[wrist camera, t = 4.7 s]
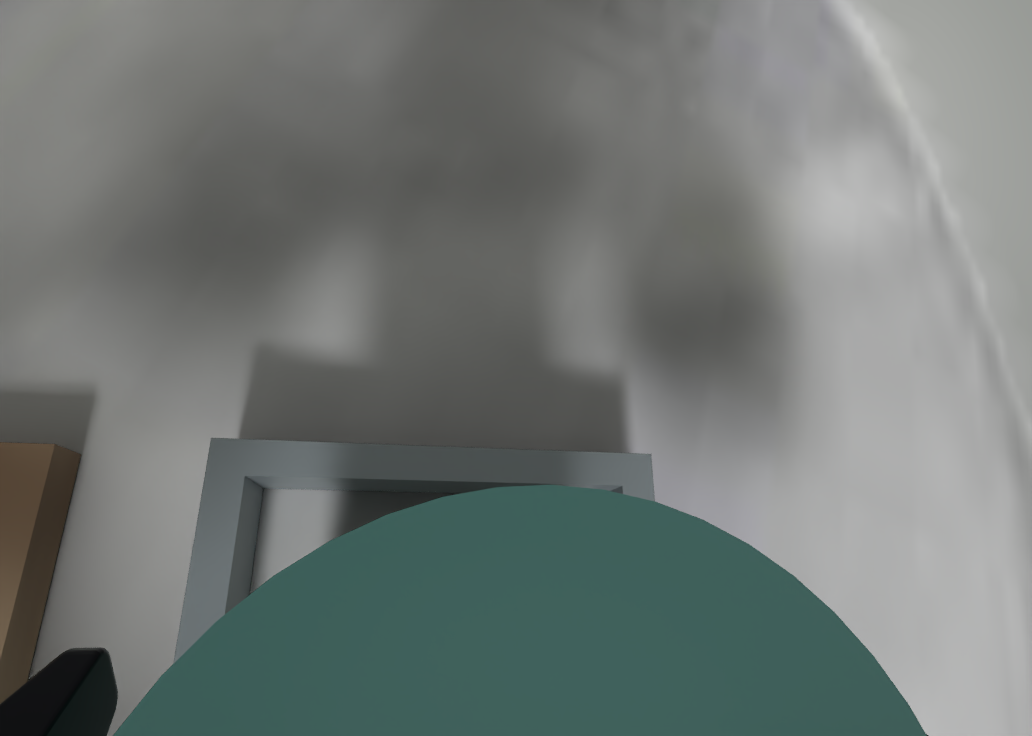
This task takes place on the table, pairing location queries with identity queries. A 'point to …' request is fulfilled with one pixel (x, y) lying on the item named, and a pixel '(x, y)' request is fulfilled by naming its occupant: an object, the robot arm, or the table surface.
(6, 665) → the pad
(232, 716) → the canister
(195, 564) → the tray
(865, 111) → the table surface
